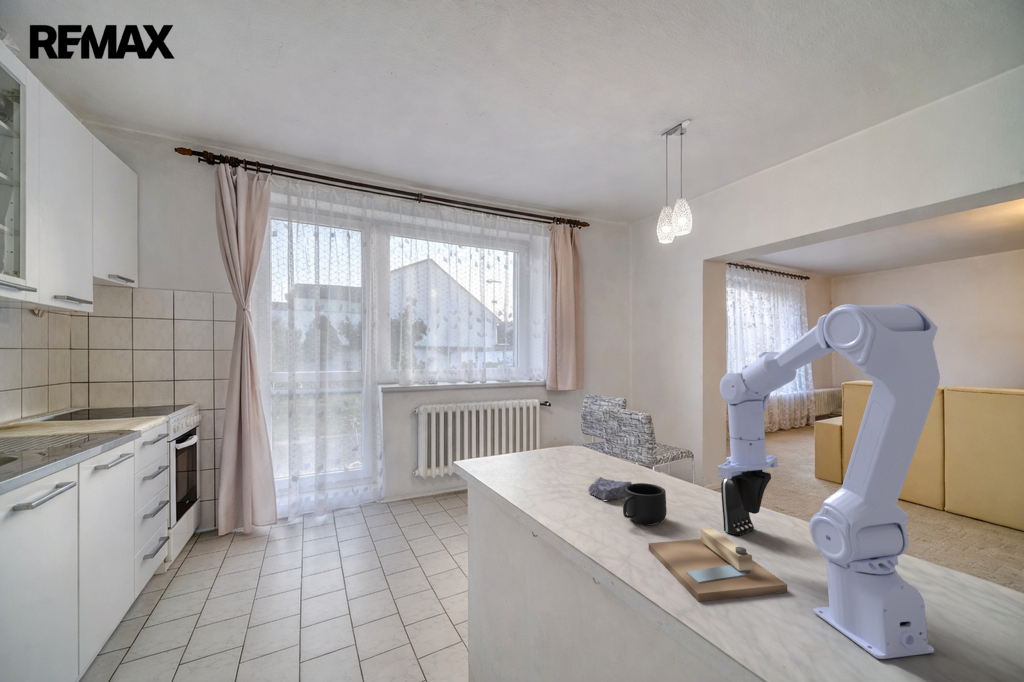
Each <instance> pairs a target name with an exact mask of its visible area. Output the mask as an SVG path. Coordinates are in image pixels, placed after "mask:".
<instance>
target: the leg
mask: <svg viewBox="0 0 1024 682" xmlns="http://www.w3.org/2000/svg"><path fill="white" fill-rule="evenodd" d="M700 539H701V541H702V542H703V543H704V544H705V545H707V546H708V547H709V548H711V549H712V550H713V551H714V552H716V553H717V554H718V555H720V556H721V557H722V558H723V559H725V560H726V561H727V562H729V563H730V564H731V565H732V566H734V567H735V568H736V569H738V570H739V571H743V570H753V567H752V560H753V556H752V555H753V554H751V553H750V552H749V551H747V549H746V548H745V547H742V546H739V545H738V544H737V543H735V542H733V540H731V539H729V538H728V537H727V536H725V535H724V534H722V533H720V532H719V530H716V529H715V528H713V527H703V528H702V527H701V528H700Z"/></svg>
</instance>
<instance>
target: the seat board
mask: <svg viewBox="0 0 1024 682" xmlns="http://www.w3.org/2000/svg"><path fill="white" fill-rule="evenodd" d="M648 550H649V552H651V553H652V555H653V556H654V557H656V559H657V560H658V561H659V562H660V563H661V564H662V565H663V566H664V568H666V570H667V571H669V573H671V575H672V576H674V578H675V579H676V580H677V581H678V582H679V583H680V584H681V585H682V586H683V587H684V588H685V589H686V591H688V592H689V594H690V595H691V596H693V598H695V600H696V601H697V602H706V601H716V600H717V601H718V600H725V599H733V598H734V599H735V598H745V597H753V596H754V597H755V596H764V595H775V594H782V593H783V594H785V593H788V591H789V590H788V584H787V583H786V582H784V581H783V580H782V579H780V578H779V577H777V576H776V575H775V574H773V573H772V572H770V571H769V570H767V569H766V568H765V567H763V566H761V564H760V563H757V561H755V560H754V559H752V567H753V570H743V571H739V570H738V569H736V568H735V567H734V566H732V565H731V564H730V563H729V562H727V561H726V560H725V559H723V558H722V557H721V556H720V555H718V554H717V553H716V552H714V551H713V550H712V549H711V548H709V547H708V546H707V545H705V544H704V543H703V542H702V541H701V538H696V539H694V538H693V539H685V540H684V539H682V540H671V541H659V542H649V543H648Z"/></svg>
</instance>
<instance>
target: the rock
mask: <svg viewBox="0 0 1024 682" xmlns="http://www.w3.org/2000/svg"><path fill="white" fill-rule="evenodd" d="M630 484H633V483H632V481H622V480H614V479H606V478H603V477H602V476H599V477H597V478H596V479H595V481H594V482H593V483H591V484H590V486H588V493H589V492H590V493H589V494H590V495H591V494H592V495H591V496H593V495H594V496H593V497H595V496H596V497H595V498H599V499H600V498H601V499H600V500H602V499H603V500H608V501H610V500H614V499H622V498H625V487H626V486H628V485H630ZM609 499H610V500H609ZM603 500H602V501H603Z"/></svg>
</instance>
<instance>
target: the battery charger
mask: <svg viewBox="0 0 1024 682" xmlns="http://www.w3.org/2000/svg"><path fill="white" fill-rule="evenodd" d="M720 485H721V486H720V489H721V490H720V492H721V496H720V497H721V505H722V506H721V508H722V517H723V521H722V522H723V531H724V532H725V533H727V534H731V535H733V536H734V535H735V536H742V535H745V534H749V533H750V532H753V531H754V530H755V525H754V524H753V522H752V520H751V515H750V512H747V511H744V508H743V505H742V502H741V499H740V496H739V494H738V491H737V489H736V487H735V485H734V483H733V482H732V480H731V479H726V478H723V479H722V480H721V484H720Z"/></svg>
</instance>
